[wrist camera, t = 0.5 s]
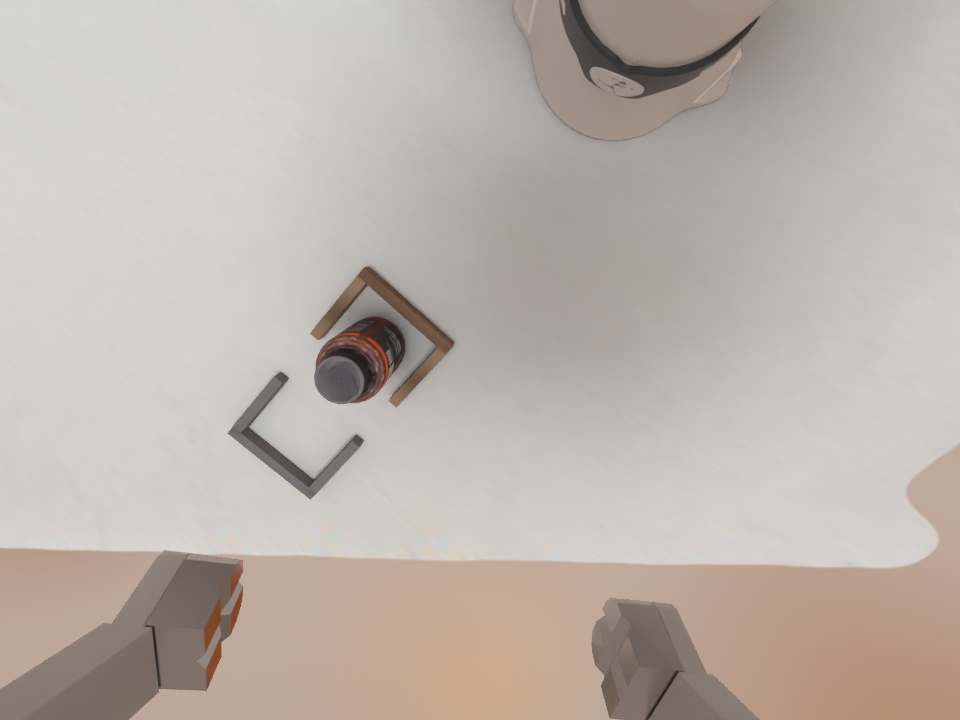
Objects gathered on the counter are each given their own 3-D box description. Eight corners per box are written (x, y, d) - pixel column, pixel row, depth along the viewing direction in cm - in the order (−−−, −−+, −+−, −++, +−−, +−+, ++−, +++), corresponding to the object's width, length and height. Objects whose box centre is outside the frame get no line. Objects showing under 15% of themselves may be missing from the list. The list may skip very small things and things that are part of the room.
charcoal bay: (281, 372, 50) (274, 376, 49) (363, 440, 51) (359, 447, 50) (235, 427, 52) (227, 433, 51) (316, 492, 53) (310, 499, 52)
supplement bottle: (335, 343, 49) (284, 376, 38) (376, 303, 48) (336, 326, 37) (377, 385, 50) (339, 430, 39) (418, 348, 48) (391, 383, 38)
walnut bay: (368, 266, 47) (364, 267, 45) (454, 343, 48) (452, 346, 47) (316, 330, 49) (310, 333, 47) (399, 402, 50) (396, 407, 49)
